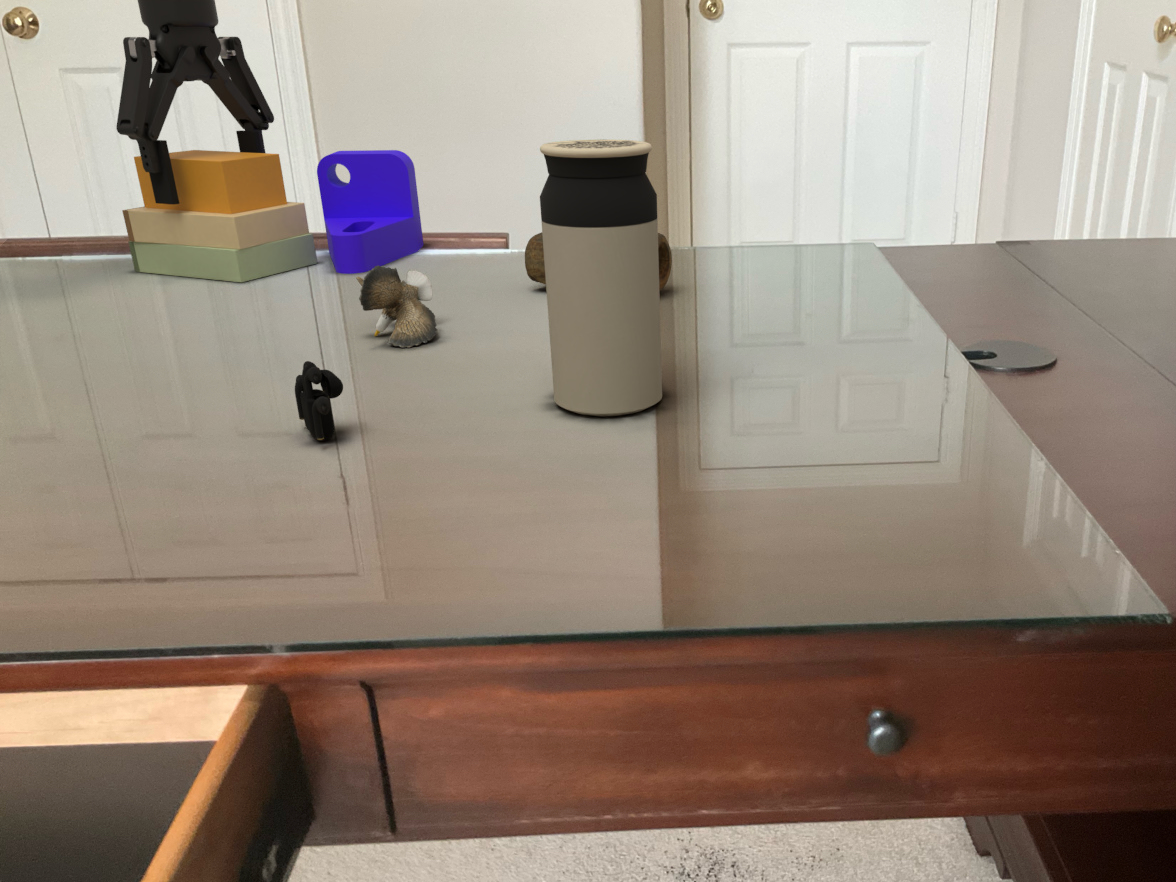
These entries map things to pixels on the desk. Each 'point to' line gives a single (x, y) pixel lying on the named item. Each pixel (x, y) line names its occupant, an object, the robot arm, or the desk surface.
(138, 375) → the desk surface
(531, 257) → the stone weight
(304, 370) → the wireless earbuds
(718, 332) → the desk surface
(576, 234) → the travel mug
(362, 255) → the bracket
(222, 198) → the orange block
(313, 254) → the beige and green block
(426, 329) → the eagle figurine
